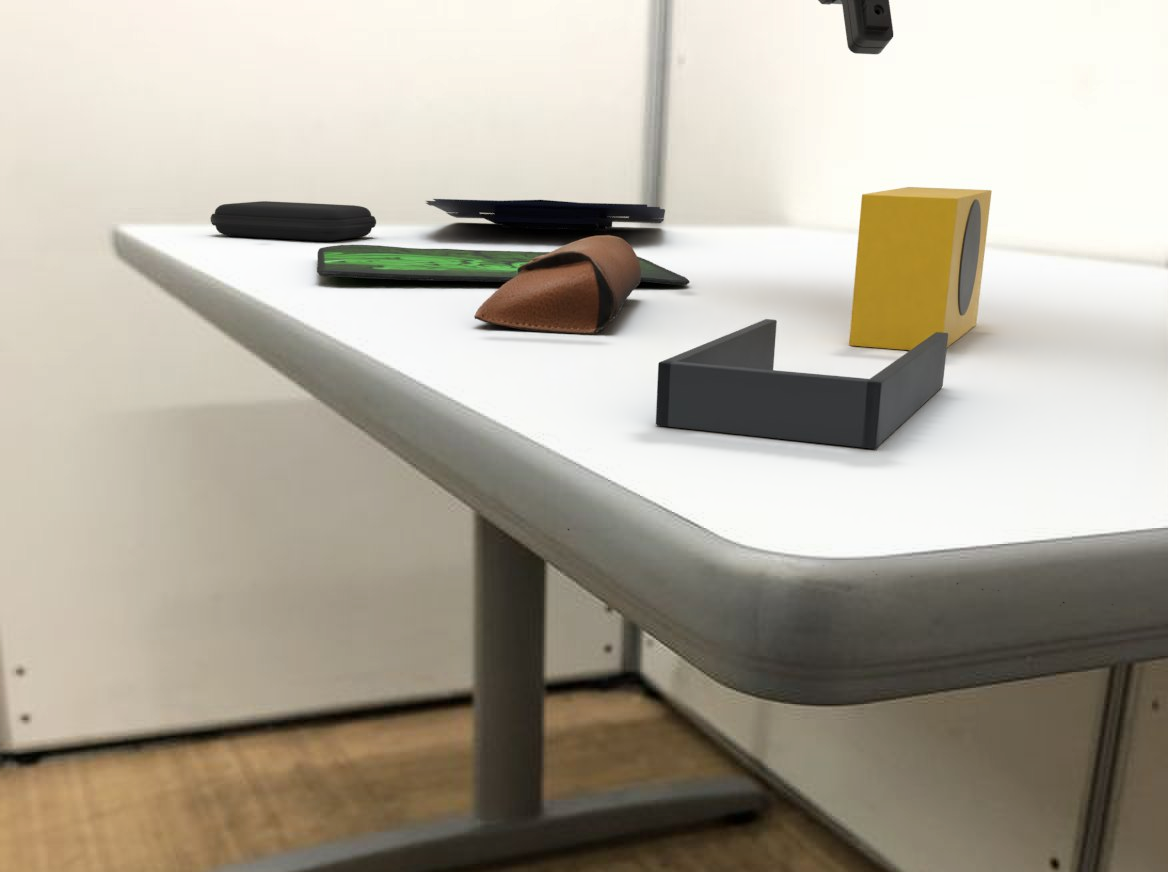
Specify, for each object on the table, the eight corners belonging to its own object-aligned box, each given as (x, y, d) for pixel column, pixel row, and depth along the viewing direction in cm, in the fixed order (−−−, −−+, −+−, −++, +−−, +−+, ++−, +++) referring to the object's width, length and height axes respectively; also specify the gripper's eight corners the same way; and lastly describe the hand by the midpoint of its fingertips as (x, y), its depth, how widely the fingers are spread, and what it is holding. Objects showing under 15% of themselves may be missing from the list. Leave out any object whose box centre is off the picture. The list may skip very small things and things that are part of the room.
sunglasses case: (516, 285, 97) (568, 200, 94) (602, 341, 97) (655, 258, 95) (468, 319, 80) (529, 217, 77) (572, 388, 80) (636, 287, 78)
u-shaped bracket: (761, 370, 69) (765, 318, 68) (942, 386, 65) (948, 332, 65) (655, 425, 55) (657, 362, 55) (875, 449, 52) (881, 382, 51)
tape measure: (893, 319, 89) (906, 186, 86) (978, 325, 87) (993, 190, 84) (846, 345, 77) (859, 194, 75) (942, 353, 75) (959, 198, 73)
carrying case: (389, 236, 141) (263, 229, 146) (388, 205, 140) (261, 199, 145) (335, 243, 132) (202, 236, 137) (334, 210, 131) (200, 203, 136)
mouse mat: (635, 258, 123) (635, 246, 122) (698, 287, 102) (699, 272, 102) (317, 256, 118) (316, 243, 118) (317, 285, 98) (316, 270, 97)
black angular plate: (412, 227, 135) (412, 188, 134) (453, 242, 164) (454, 209, 164) (665, 234, 134) (667, 195, 133) (662, 247, 163) (663, 215, 163)
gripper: (945, -303, 78) (988, -18, 75) (847, -141, 91) (881, 108, 88) (820, -317, 76) (859, -26, 74) (738, -150, 89) (768, 104, 86)
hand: (871, 47), depth 81 cm, fingers closed
